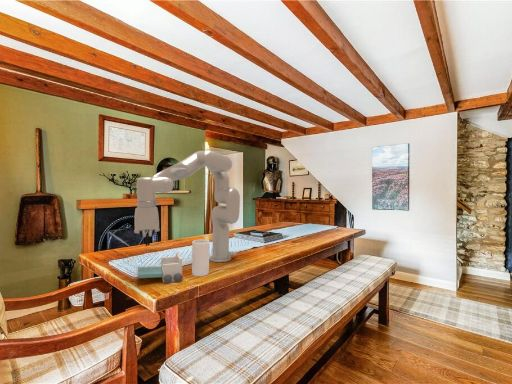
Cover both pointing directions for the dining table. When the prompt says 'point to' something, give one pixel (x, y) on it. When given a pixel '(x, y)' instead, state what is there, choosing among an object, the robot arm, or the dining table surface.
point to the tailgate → (149, 272)
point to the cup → (200, 257)
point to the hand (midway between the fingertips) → (147, 244)
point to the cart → (171, 268)
